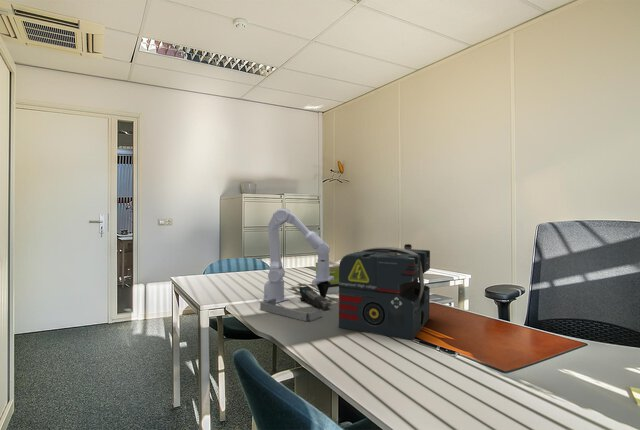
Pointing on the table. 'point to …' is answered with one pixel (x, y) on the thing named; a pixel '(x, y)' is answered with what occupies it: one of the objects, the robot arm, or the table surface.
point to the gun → (314, 298)
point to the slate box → (289, 311)
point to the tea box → (334, 283)
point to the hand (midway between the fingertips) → (323, 297)
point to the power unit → (384, 291)
